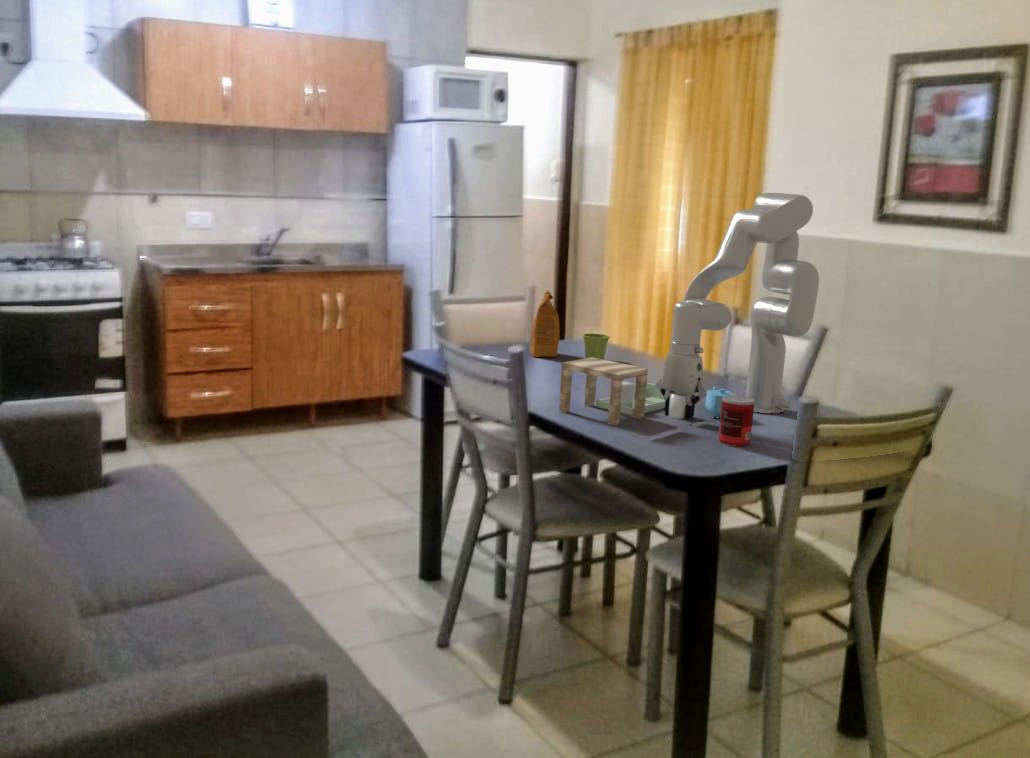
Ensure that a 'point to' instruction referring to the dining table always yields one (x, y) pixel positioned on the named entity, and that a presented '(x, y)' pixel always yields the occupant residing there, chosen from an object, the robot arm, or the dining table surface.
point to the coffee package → (545, 329)
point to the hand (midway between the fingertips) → (678, 416)
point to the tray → (652, 401)
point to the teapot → (715, 400)
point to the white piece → (677, 405)
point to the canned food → (736, 420)
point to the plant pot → (595, 345)
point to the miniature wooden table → (616, 374)
